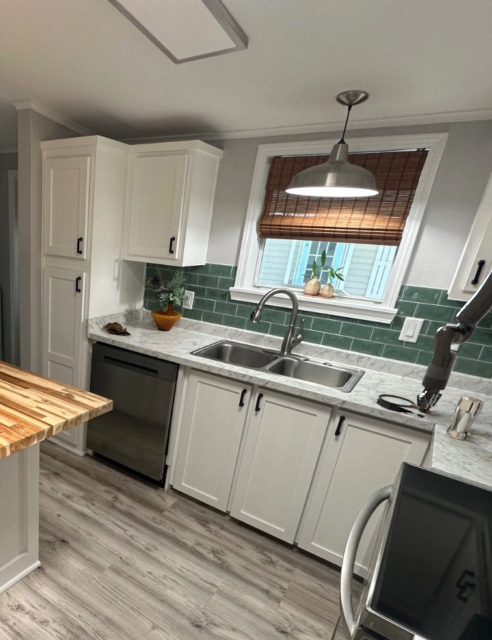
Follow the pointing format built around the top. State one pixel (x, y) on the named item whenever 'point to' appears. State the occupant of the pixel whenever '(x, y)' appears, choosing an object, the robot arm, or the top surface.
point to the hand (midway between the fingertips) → (421, 416)
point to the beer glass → (464, 416)
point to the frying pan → (396, 407)
